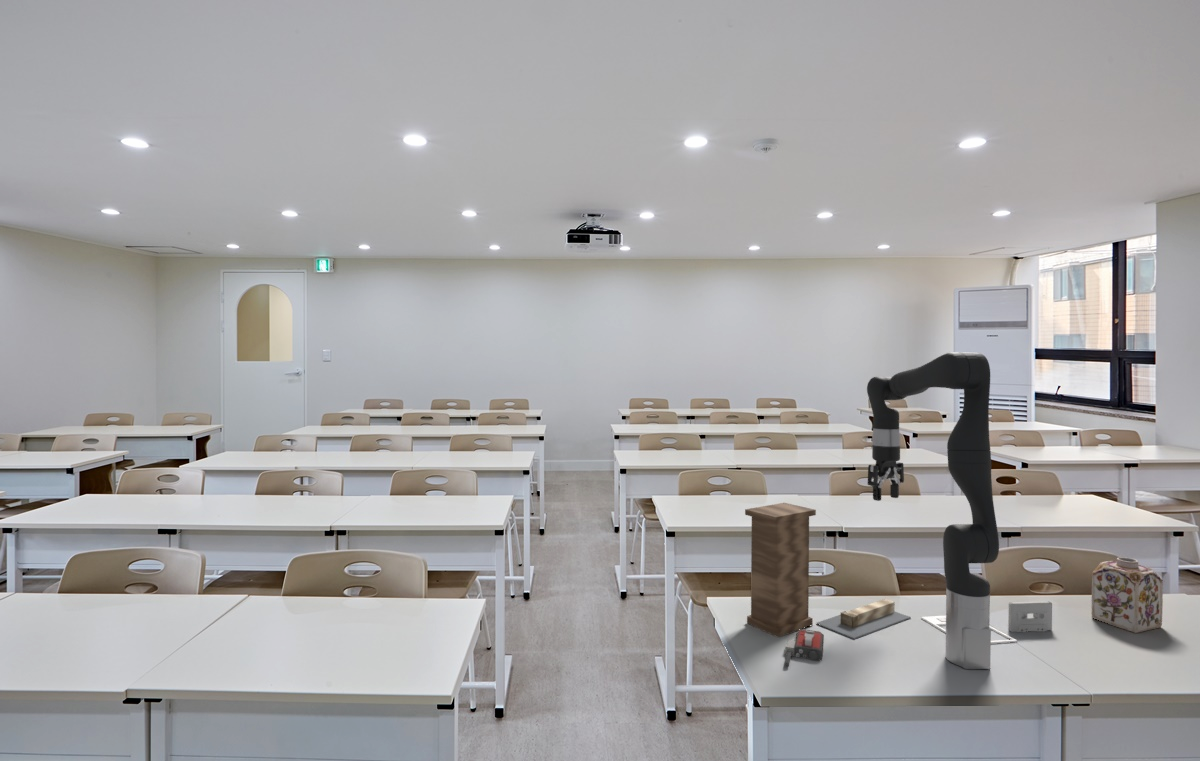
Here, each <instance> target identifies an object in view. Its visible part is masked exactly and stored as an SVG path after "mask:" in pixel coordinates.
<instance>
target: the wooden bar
mask: <svg viewBox="0 0 1200 761" xmlns="http://www.w3.org/2000/svg"><path fill="white" fill-rule="evenodd" d="M894 611H895V601H893V600H889V599H886V598H884V599H880V600H878V601H875V602H871V603H869V604H866V605H862V606H859V607H857V608H854V609H850V610H847V611H845V610H844V611H841V612H840V615H841V624H843V625H846V626H849V627H851V628H855V627H858V625H860V624H863V623H866V622H869V621H872V620H874V619H877V618H880V617H883V616H886V615H888V614H891V613H894Z"/></svg>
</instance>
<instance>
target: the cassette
mask: <svg viewBox="0 0 1200 761" xmlns="http://www.w3.org/2000/svg"><path fill="white" fill-rule="evenodd" d="M1029 614H1031V615H1032V616H1028V615H1029ZM1007 626H1008V628H1007V630H1008V631H1009V632H1010V633H1011V632H1012V633H1015V631H1017V633H1027V632H1028V631H1037V632H1047V631H1046V630H1051V631H1052V630H1053V603H1052V602H1051V601H1021V602H1020V601H1018V602H1017V601H1016V602H1009V603H1008V624H1007ZM1013 631H1014V632H1013ZM1026 631H1027V632H1026ZM1028 633H1029V632H1028Z"/></svg>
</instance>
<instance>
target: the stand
mask: <svg viewBox="0 0 1200 761" xmlns="http://www.w3.org/2000/svg"><path fill="white" fill-rule="evenodd" d="M744 510H745V511H744V515H745V516H749V517H751V542H750V543H751V544H750V545H751V551H750V552H751V557H750V558H751V559H750V560H751V562H750V563H751V570H750V573H751V574H750V576H751V577H750V578H751V581H750V583H751V584H750V587H751V589H750V590H751V591H750V594H751V595H750V596H751V597H750V615H747V616H746V623H747V624H748V625H750V626H751V627H754V628H757V629H759V630H761V631H763V632H766V633H768V634H770V635H772V636H775V637H776V638H778V637H779V638H780V637H781V636H785V634H786V635H788V633H789V634H791V632H792V633H794V631H795V632H797V631H799V629H800V630H801V628H803V629H805V628H804V627H806V628H808V627H807V626H809V627H811V626H810V625H812V626H813V624H814V623H813V617H811V616H809V605H810V604H809V601H810V600H809V593H810V590H809V588H810V587H809V585H810V583H809V582H810V581H809V579H810V578H809V577H810V576H809V575H810V574H809V573H810V572H809V571H810V564H809V563H810V517H812V516H813V517H814V516H816V515H817V514H816V513H817V510H816V509H814V508H810V507H807V506H806V507H805V506H801V505H795V504H792V503H788V502H787V503H786V502H780V503H774V504H770V505H769V504H768V505H763V506H758V507H751V508H747V509H744ZM796 630H797V631H796Z"/></svg>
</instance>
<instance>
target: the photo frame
mask: <svg viewBox="0 0 1200 761" xmlns="http://www.w3.org/2000/svg"><path fill="white" fill-rule="evenodd" d="M920 617H921V618H920V619H921V620H922V621H924V622H926V623H928V624H929V625H931V626H933V627H934V628H935V629H937V630H939V631H941V632H943V633H944V634H946V628H943V627H944V626H945V627H946V615H933V616H920ZM941 626H942V627H941ZM989 629H990V630H991V631H993V632H994V633H996V634H999V635H1000V636H1002V637H1004V638H1006V639H1000V640H999V639H998V640H991V645H998V644H997V643H1001V644H1011V643H1010V642H1015V643H1018V639H1015V638H1014V637H1011V636H1010V635H1008V634H1006V633H1004V632H1002V631H1000V630H999V629H997V628H995V627H993V626H991V625H989ZM1009 639H1010V640H1009ZM1007 642H1009V643H1007Z"/></svg>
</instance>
